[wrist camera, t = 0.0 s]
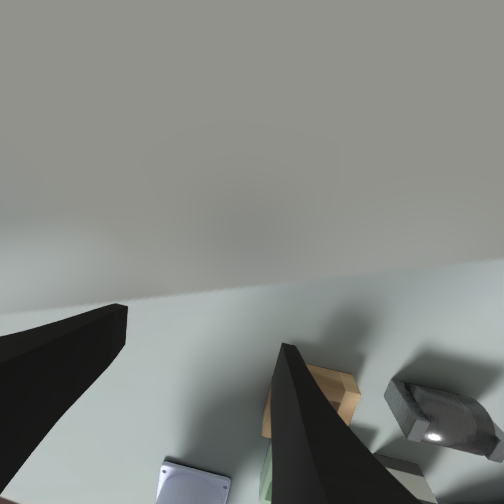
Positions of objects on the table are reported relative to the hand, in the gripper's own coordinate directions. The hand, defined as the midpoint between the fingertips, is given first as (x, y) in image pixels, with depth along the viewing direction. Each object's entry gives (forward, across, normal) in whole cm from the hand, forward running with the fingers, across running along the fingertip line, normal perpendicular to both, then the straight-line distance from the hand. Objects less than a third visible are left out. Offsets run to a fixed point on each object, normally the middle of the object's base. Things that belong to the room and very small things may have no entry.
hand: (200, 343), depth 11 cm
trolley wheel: (+10, -20, +8) cm, 23 cm away
